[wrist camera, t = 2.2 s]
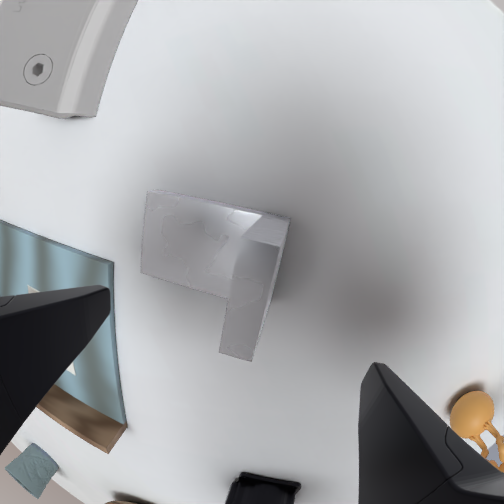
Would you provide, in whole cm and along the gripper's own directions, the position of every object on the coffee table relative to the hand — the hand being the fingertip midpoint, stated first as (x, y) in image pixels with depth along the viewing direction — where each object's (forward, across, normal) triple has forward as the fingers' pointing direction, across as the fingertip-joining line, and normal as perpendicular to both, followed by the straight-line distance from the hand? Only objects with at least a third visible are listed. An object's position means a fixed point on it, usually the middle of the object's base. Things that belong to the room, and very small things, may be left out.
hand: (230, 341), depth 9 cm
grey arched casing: (+8, +16, -15) cm, 24 cm away
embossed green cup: (+8, +39, +61) cm, 73 cm away
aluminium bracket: (+8, +3, 0) cm, 9 cm away
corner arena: (+8, +19, +12) cm, 24 cm away
